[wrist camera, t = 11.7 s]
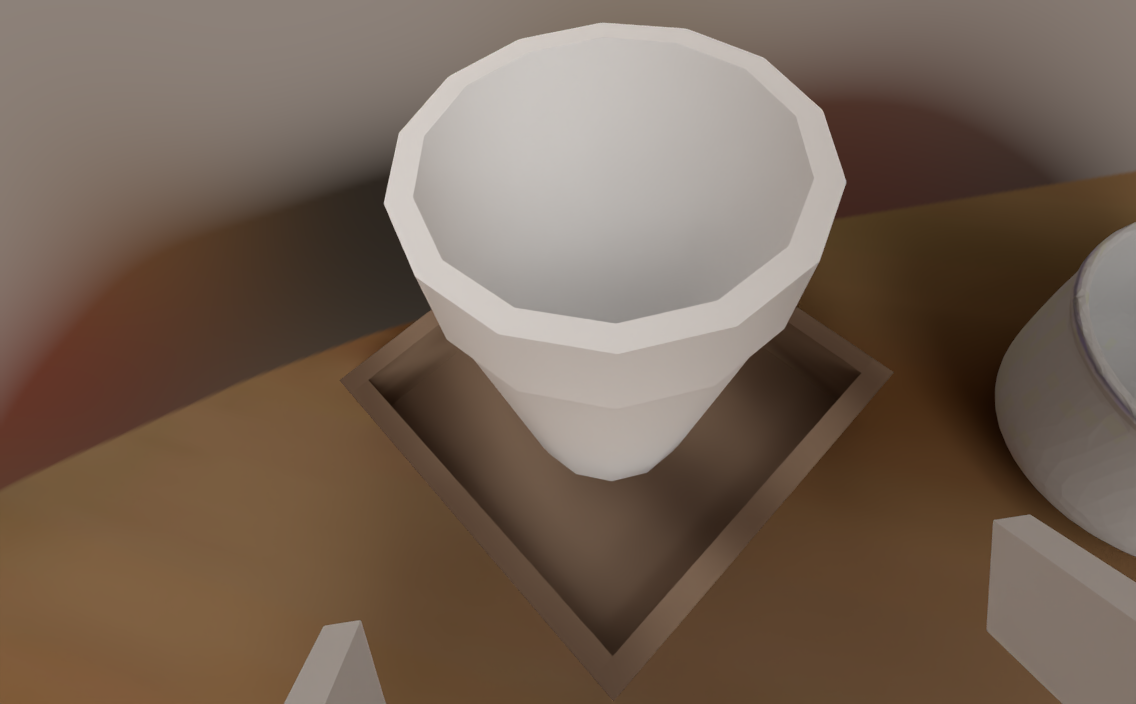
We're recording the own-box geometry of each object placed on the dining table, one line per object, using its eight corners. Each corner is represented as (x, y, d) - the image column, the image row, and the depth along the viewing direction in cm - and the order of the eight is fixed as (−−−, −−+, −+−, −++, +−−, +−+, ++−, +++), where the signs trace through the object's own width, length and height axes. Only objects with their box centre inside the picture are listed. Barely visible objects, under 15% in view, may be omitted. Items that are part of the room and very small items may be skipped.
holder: (604, 228, 29) (603, 177, 26) (857, 410, 23) (894, 372, 20) (373, 415, 25) (339, 380, 22) (613, 695, 19) (613, 701, 16)
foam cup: (464, 361, 25) (339, 101, 13) (649, 279, 26) (680, -18, 15) (556, 567, 20) (487, 443, 9) (772, 455, 22) (951, 225, 10)
